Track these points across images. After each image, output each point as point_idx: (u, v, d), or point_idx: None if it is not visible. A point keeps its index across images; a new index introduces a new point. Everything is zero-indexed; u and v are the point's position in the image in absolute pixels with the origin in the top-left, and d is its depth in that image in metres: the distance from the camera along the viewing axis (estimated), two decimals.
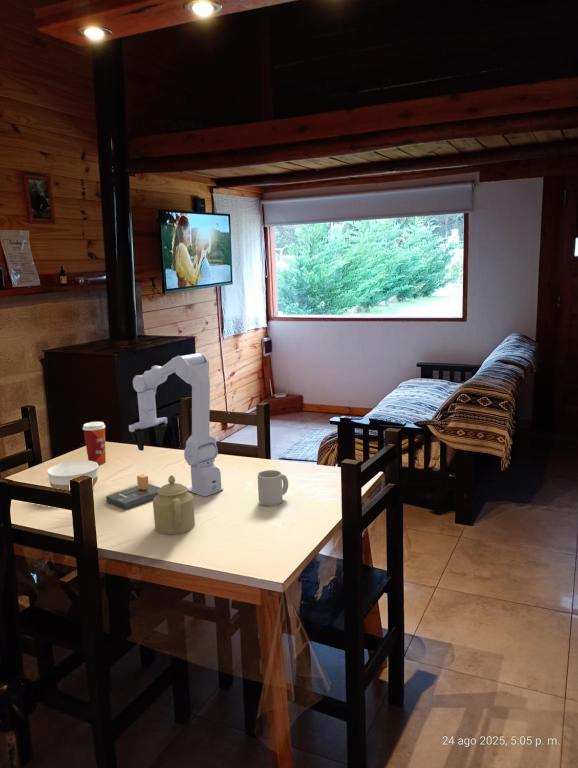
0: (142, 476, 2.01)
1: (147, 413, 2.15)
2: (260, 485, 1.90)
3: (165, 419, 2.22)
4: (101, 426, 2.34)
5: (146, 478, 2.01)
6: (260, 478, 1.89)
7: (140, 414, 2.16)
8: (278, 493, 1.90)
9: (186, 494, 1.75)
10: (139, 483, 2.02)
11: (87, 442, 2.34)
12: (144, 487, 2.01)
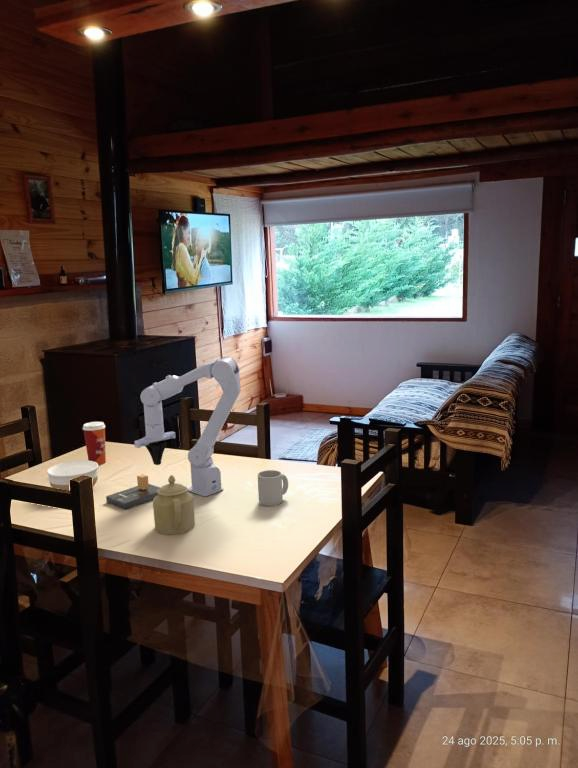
0: (142, 476, 2.01)
1: (154, 428, 2.00)
2: (260, 485, 1.90)
3: (173, 434, 2.08)
4: (101, 426, 2.34)
5: (146, 478, 2.01)
6: (260, 478, 1.89)
7: (146, 429, 2.01)
8: (278, 493, 1.90)
9: (186, 494, 1.75)
10: (139, 483, 2.02)
11: (87, 442, 2.34)
12: (144, 487, 2.01)
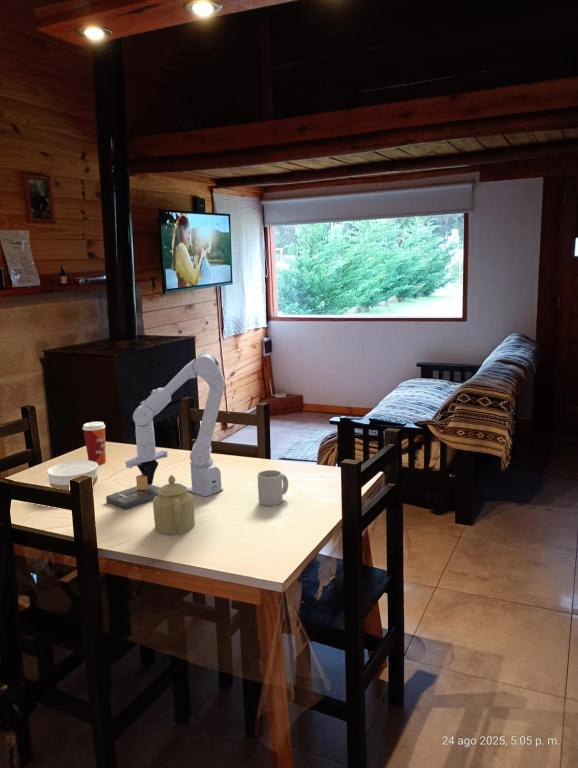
0: (141, 476, 2.01)
1: (145, 448, 1.99)
2: (260, 485, 1.90)
3: (165, 453, 2.06)
4: (101, 426, 2.34)
5: (145, 478, 2.01)
6: (260, 478, 1.89)
7: (138, 449, 2.00)
8: (278, 493, 1.90)
9: (186, 494, 1.75)
10: (138, 483, 2.01)
11: (87, 442, 2.34)
12: (143, 487, 2.00)
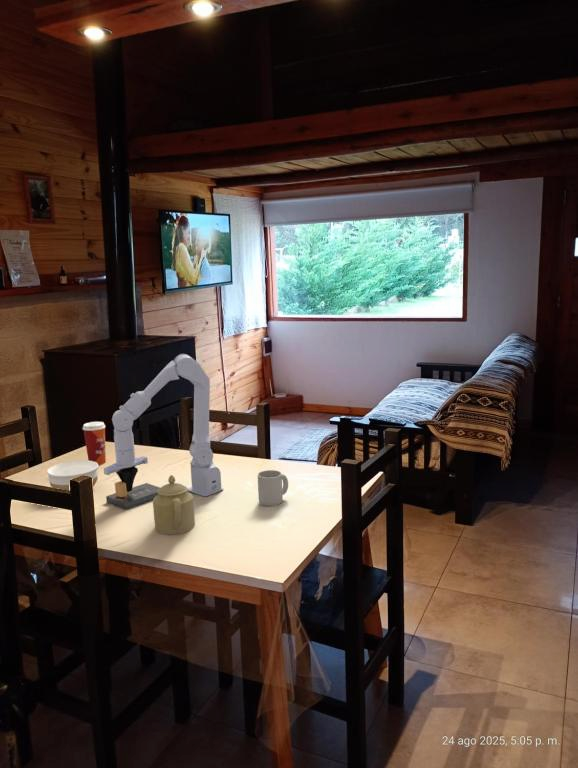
0: (120, 483, 1.95)
1: (124, 454, 1.93)
2: (260, 485, 1.90)
3: (145, 459, 2.00)
4: (101, 426, 2.34)
5: (124, 485, 1.95)
6: (260, 478, 1.89)
7: (117, 455, 1.94)
8: (278, 493, 1.90)
9: (186, 494, 1.75)
10: (117, 490, 1.96)
11: (87, 442, 2.34)
12: (122, 494, 1.95)
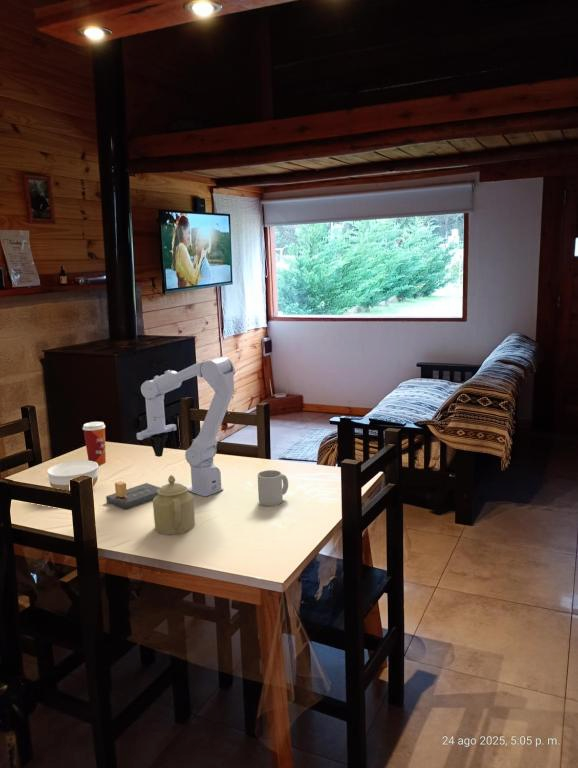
0: (120, 483, 1.95)
1: (156, 420, 2.05)
2: (260, 485, 1.90)
3: (174, 426, 2.12)
4: (101, 426, 2.34)
5: (124, 485, 1.95)
6: (260, 478, 1.89)
7: (148, 421, 2.06)
8: (278, 493, 1.90)
9: (186, 494, 1.75)
10: (117, 490, 1.96)
11: (87, 442, 2.34)
12: (122, 494, 1.95)
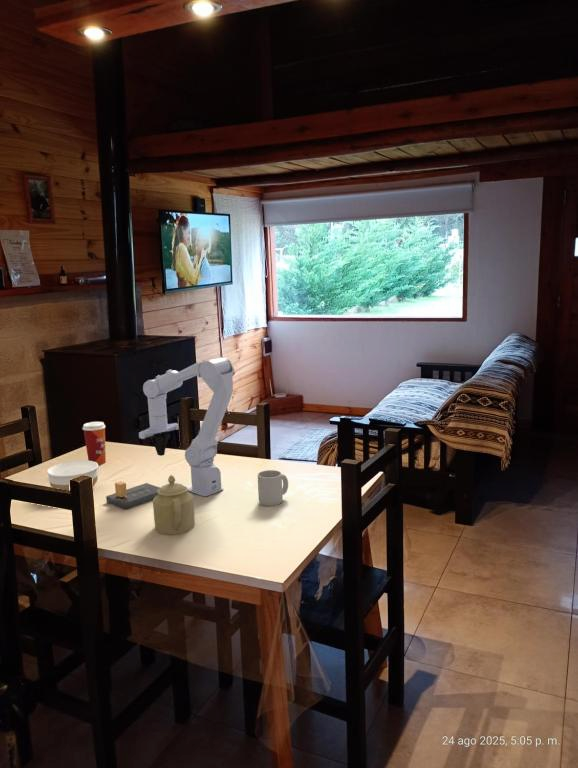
0: (120, 483, 1.95)
1: (158, 419, 2.06)
2: (260, 485, 1.90)
3: (176, 425, 2.13)
4: (101, 426, 2.34)
5: (124, 485, 1.95)
6: (260, 478, 1.89)
7: (150, 420, 2.07)
8: (278, 493, 1.90)
9: (186, 494, 1.75)
10: (117, 490, 1.96)
11: (87, 442, 2.34)
12: (122, 494, 1.95)
